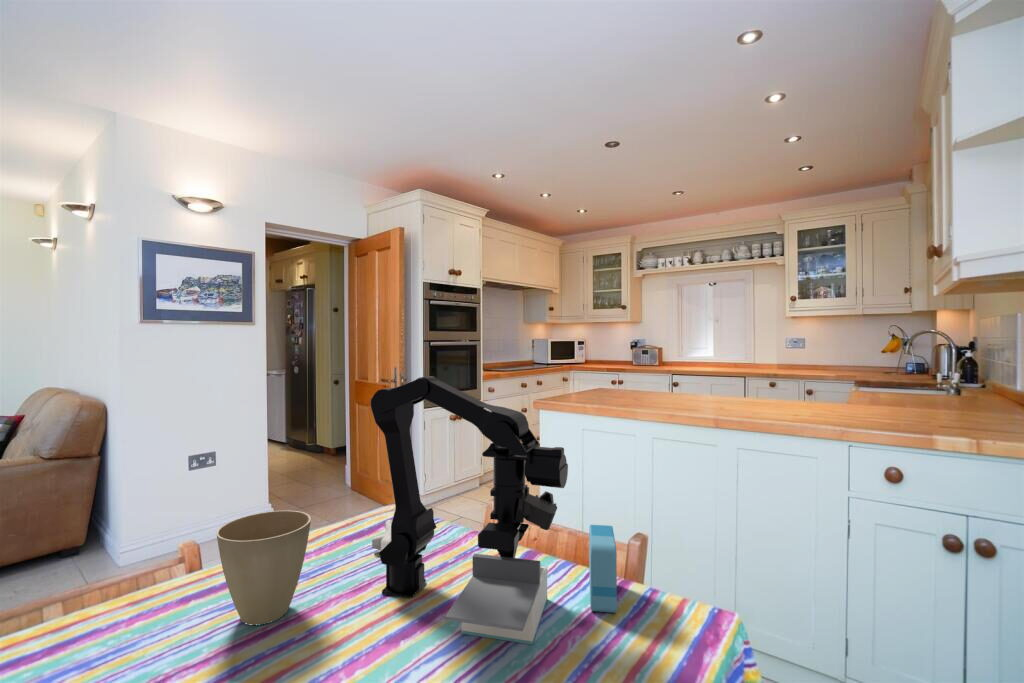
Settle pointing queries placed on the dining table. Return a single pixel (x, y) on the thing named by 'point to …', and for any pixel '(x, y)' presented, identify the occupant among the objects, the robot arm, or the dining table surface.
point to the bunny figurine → (383, 537)
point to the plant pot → (263, 562)
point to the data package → (602, 569)
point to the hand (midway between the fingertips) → (509, 568)
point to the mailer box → (530, 625)
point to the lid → (498, 592)
